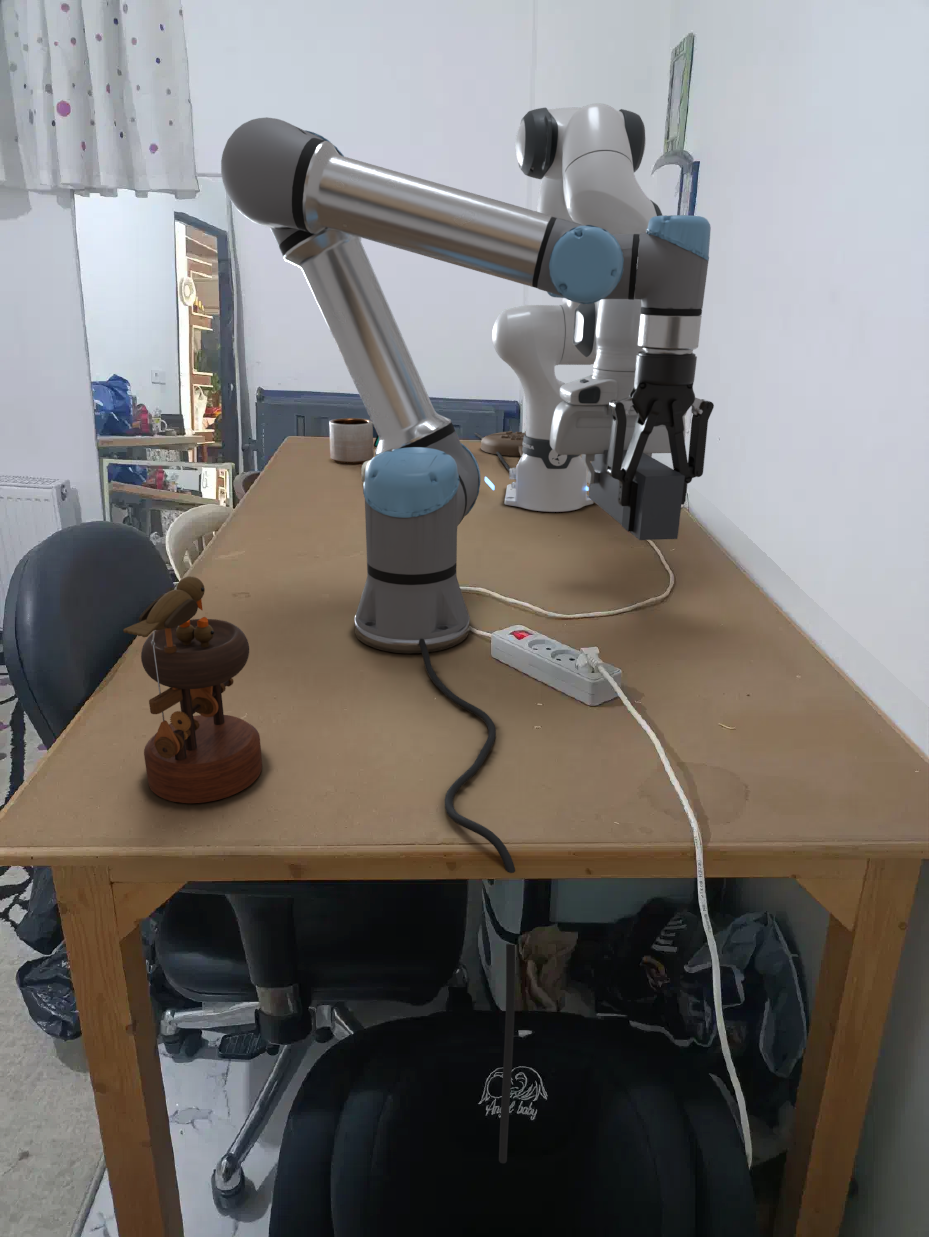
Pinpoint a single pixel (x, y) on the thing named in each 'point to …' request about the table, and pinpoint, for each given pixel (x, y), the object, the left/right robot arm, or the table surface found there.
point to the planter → (351, 440)
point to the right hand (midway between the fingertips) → (614, 482)
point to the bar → (643, 497)
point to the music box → (195, 700)
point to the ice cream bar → (503, 443)
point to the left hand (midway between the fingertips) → (648, 527)
